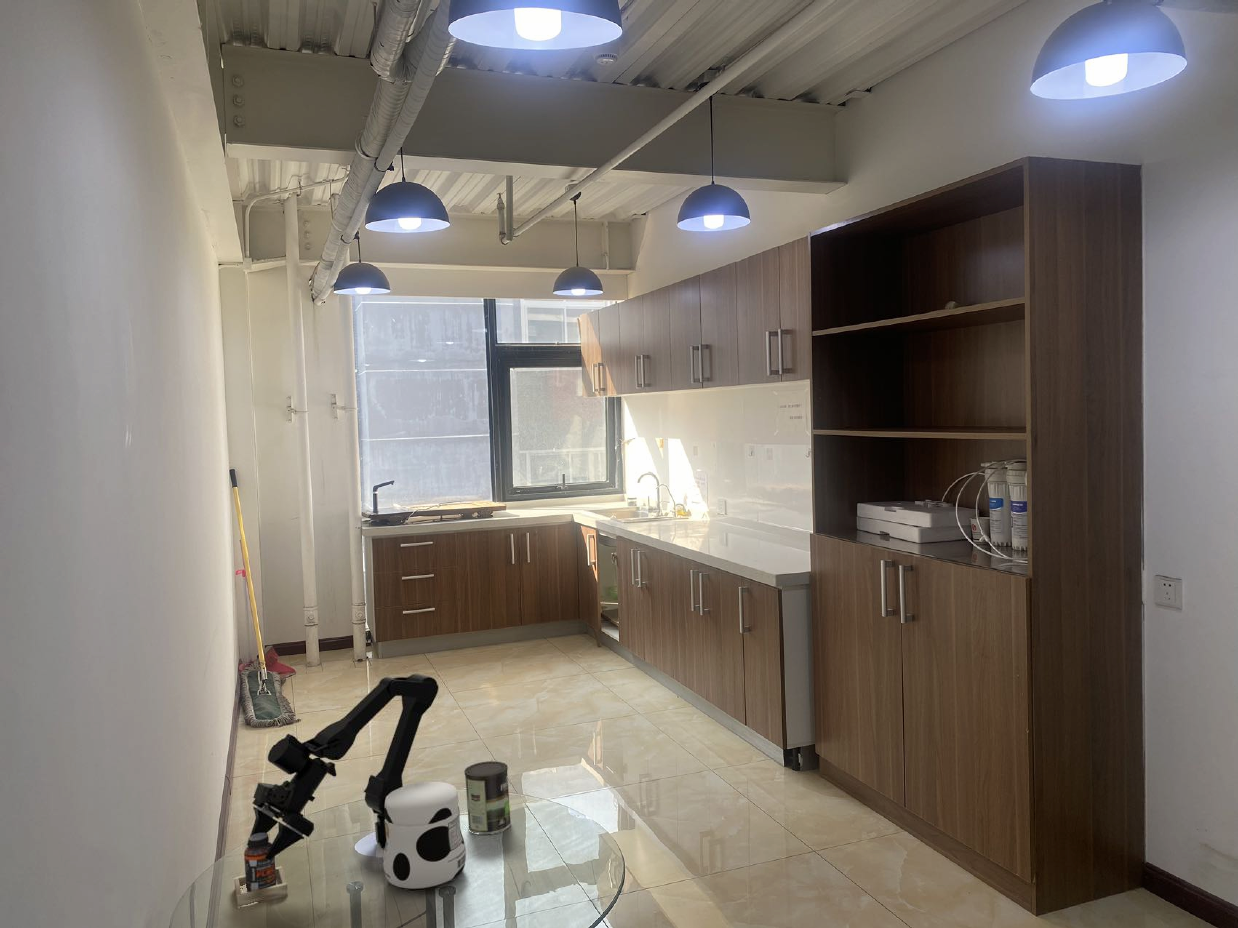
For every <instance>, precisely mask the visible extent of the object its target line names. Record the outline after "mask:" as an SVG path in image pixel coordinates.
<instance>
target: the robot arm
mask: <svg viewBox="0 0 1238 928" xmlns="http://www.w3.org/2000/svg"><path fill="white" fill-rule="evenodd" d="M439 688H440V687H439V685H438V682H437V680H436V679H435V678H433V677H431V676H427V675H425V674H419V673H413V674H411V675H409V676H405V677H402V676H396V677H395V676H394V677H390V676H386V677H383V678H381V679H380V681H379V683H378V684H377V685H376V686H375V687H374V688H373V689H371V691H369V693H368V694H367V695H366V696H364V698H362V699H361V701H359V702H358V703H357V704H356V705H355V706H354V707H353V708H352V709H351V710H349V712H348V713H347V714H346V715H345V716H344V717H342V718H341V719H339V720H337V721H335V722H333V723H331V724H329V725H327V726H325V727H324V728H323V729H321V730H320V731H319V732H318V733H316V734H315V736H314V737H313V738H310V739H307V740H305V741H304V742H302V741H300V740H298V738H297V737H296V736H294V735H293V734H291V733H287V734H286V736H285V737H284V738H282V739H280V740H279V741H277V742H276V743H275V744H273V745H272V747H271V748H270V750H269V752H268V754H267V761H268V762H269V763H270V764H271V765H273V766H274V767H277V768H278V769H280V770H281V771H283V772H284V773H286V774H287V775H293V776H292V778H291V780H290V781H289V780H285V781H283V783H281V784H280V785H279V784H276V783H275V784H272V783H266V782H265V783H264V782H258V783H257V786H256V789H255V792H254V794H253V799H254V800H253V801H252V805H254V806H253V807H252V809H253V810H254V816H255V820H254V823H253V825H252V829H251V831H250V835H249V837H250V836H252V835H254V834H257V833H267V834H269V833H268V832H270V831H271V830H272V829H273V828H274V827H275V826H276V825H278V831H277V834H276V836H275V838H274V840H273V841H272V842H271V843H272V845H271V846H270V848H269V850H268V852H267V854H266V856H265V858H266V859H268V860H270V859H272V858H273V857H274V856H275V857H276V856H278V855H279V854H280V853H282V852H283V851H285V850H286V849H288V848H289V847H291V846H292V845H294V844H296V843H297V842H300V841H301V840H304V839H305V836H306V837H307V838H310V836H312V834H313V833H314V831H315V824H314V822H313V821H311V820H309V819H307V818H306V817H305V816H304V815H305V814H303V813H302V812H303V810H304V808H305V807H306V806H307V804H308V803H309V801H310V802H314V801H315V799H316V797H315V796H313V795H314V794H315V791H317V789H318V788H319V787H320V785H321V784H322V782H323V780H324V779H325V777H326V776H327V775H329V776H331V777H334V778H335V777H337V771H336V764H335V763H334V762H332V761H339V760H341V759H343V758H344V757H345V756H346V754H347V753H348V752H349V751H350V750H351V748H352V747H353V745H354V743H355V740H356V738H357V735H358V734H359V733H360V731H361V730H363V729H364V728H365V726H367V724H368V723H370V722H371V721H372V720H373V719H374V718H375V717H376V716H377V715H378V714H379V713H380V712H381V711H382V710H383V709H384V708H385V707H386V706H387V705H388V704H389V703H390V702H391V701H392V700H393V699H394V698H395V697H401V704H402V711H401V713H400V716H399V718H398V722H397V725H396V727H395V731H394V733H393V737H392V739H391V742H390V746H389V747H388V751H387V753H386V757H385V759H384V761H383V765H382V768H381V769H380V771H379V772H378V773H377V774H376V775H373V774H371V775H369V777H368V781H367V785H366V787H365V789H364V791H363V793H364V794H365V795H364V801H365V803H366V806H367V807H368V808H370V809H371V810H372V812H373V814H376V822H375V823H374V828H375V830H374V831H375V840H376V842H377V844H379V846H380V848H381V849H385V845H386V828H385V814H384V809H385V800H386V796H388V795H389V794H390V793H391V792H392V791H394V790H396V789H398V788H401V787H404V786H403V773H404V770H405V767H406V763H407V761H408V758H409V755H410V752H411V749H412V746H413V744H414V742H415V737H416V735H417V732H418V729H419V725H420V723H421V720H422V717H423V715H424V714H425V713H426V712H427V711H428V710H429V709H430V708H431V707H432V705H433V703H434V702H435V699H436V698H437V695H438V693H439ZM311 755H312V756H314V758H312V757H310V756H311ZM323 759H327V760H330V761H329V762H326V761H324V760H323ZM255 806H256V807H255ZM274 818H275V819H274ZM279 819H281V822H280V821H278V820H279ZM282 822H283V823H284V824H283V823H282ZM303 835H304V836H303ZM248 843H249V842H248V841H247V844H246V846H247V847H248V846H249V844H248Z"/></svg>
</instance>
